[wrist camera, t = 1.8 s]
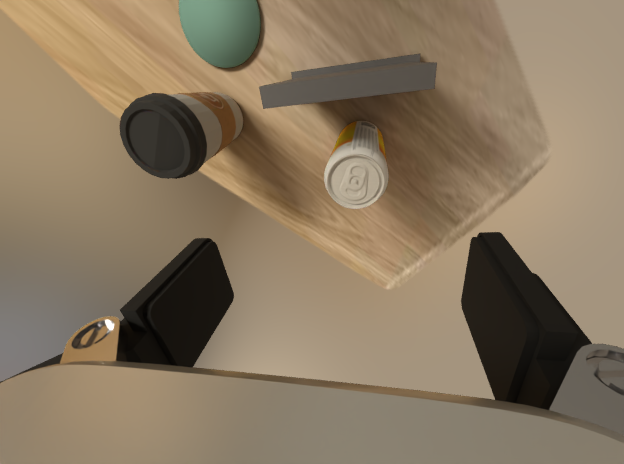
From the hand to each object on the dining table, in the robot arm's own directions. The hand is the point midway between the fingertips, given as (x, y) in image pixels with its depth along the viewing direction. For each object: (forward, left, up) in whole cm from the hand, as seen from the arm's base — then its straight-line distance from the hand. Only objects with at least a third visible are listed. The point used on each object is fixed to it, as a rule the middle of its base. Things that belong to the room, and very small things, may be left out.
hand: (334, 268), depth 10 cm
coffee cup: (-2, -19, -32) cm, 37 cm away
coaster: (-13, -16, -31) cm, 38 cm away
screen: (-5, -1, -31) cm, 32 cm away
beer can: (+3, 0, -32) cm, 32 cm away
